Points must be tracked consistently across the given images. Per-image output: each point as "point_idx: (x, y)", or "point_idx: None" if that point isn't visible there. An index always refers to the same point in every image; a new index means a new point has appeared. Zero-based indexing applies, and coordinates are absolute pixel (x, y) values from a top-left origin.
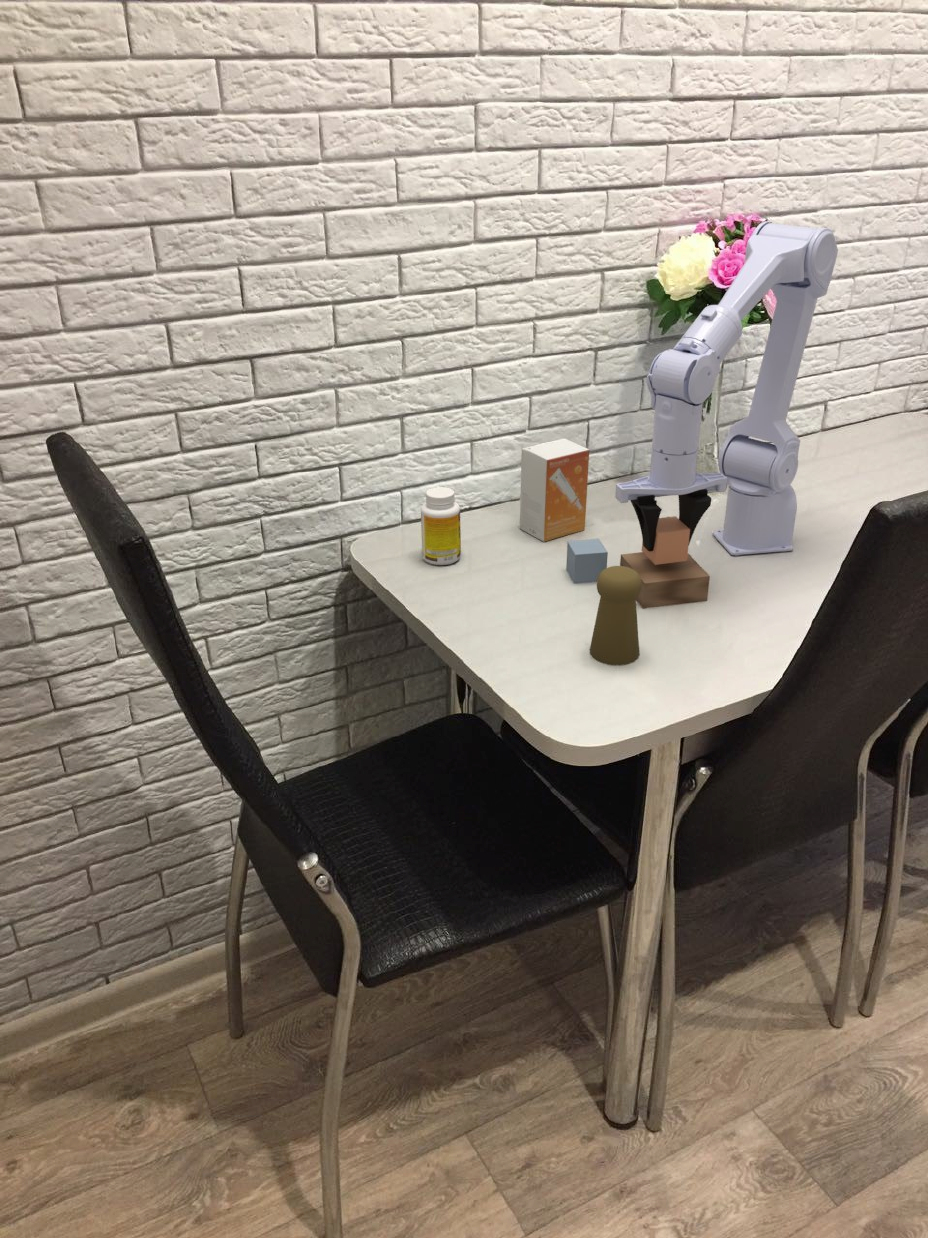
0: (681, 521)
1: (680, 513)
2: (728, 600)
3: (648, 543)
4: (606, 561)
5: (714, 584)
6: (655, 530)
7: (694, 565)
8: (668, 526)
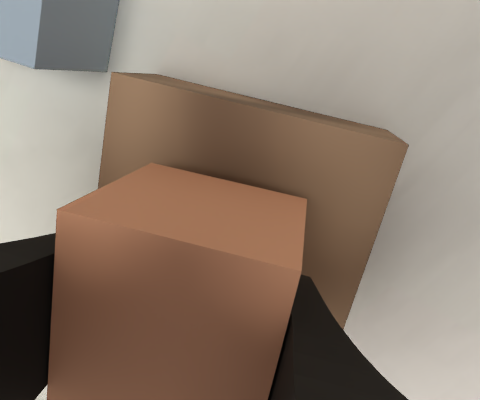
0: (281, 355)
1: (288, 360)
2: (379, 362)
3: None
4: (58, 69)
5: (422, 266)
6: (32, 394)
7: (328, 306)
8: (150, 372)
